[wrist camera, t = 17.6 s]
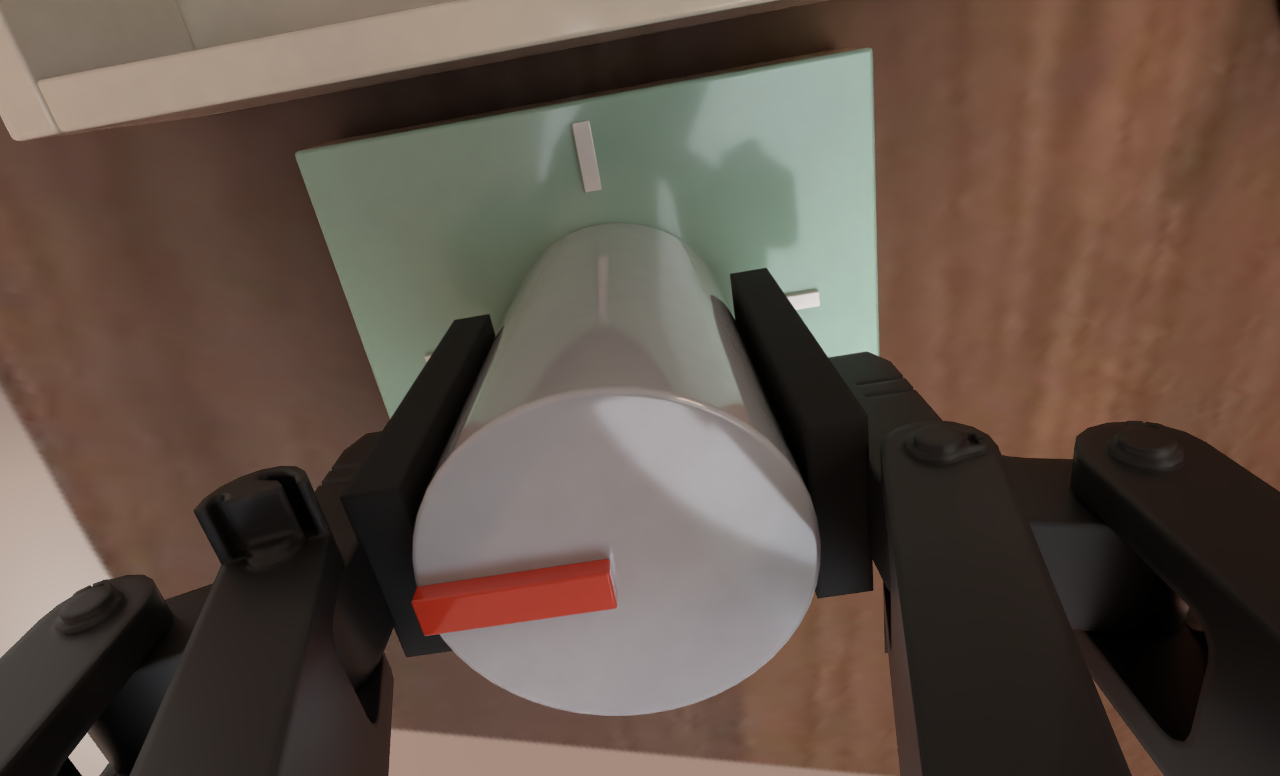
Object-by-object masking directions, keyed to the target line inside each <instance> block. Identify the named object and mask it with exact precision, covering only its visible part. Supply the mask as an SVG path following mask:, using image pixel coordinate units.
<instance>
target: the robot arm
mask: <svg viewBox="0 0 1280 776" xmlns="http://www.w3.org/2000/svg"><path fill="white" fill-rule="evenodd" d="M730 280H731V289H732V298H733V307H734V315H735V321H736V324H737V326H738V328H739V331H740V333H741V335H742V338H743V340H744V342H745V345H746V347H747V349H748V352H749V354H750V356H751V359H752V361H753V363H754V366H755V368H756V370H757V372H758V375H759V377H760V379H761V382H762V384H763V386H764V389H765V391H766V393H767V396H768V398H769V400H770V403H771V405H772V407H773V410H774V412H775V414H776V417H777V419H778V421H779V424H780V426H781V428H782V431H783V433H784V435H785V438H786V440H787V442H788V445H789V447H790V449H791V452H792V454H793V456H794V458H795V461H796V463H797V465H798V468H799V470H800V472H801V475H802V477H803V479H804V482H805V484H806V486H807V489H808V491H809V493H810V496H811V498H812V501H813V505H814V508H815V511H816V514H817V517H818V522H819V528H820V535H821V564H820V570H819V575H818V581H817V585H816V588H815V592H816V595H817V598H824V597H831V596H838V595H845V594H852V593H859V592H866V591H873V566H872V559H873V561H874V563H875V565H876V567H877V569H878V571H879V573H880V575H881V577H882V579H883V589H884V634H885V653H888V655H889V665H890V675H891V685H892V695H893V705H894V715H895V725H896V735H897V745H898V755H899V765H900V775H901V776H1132V775H1131V773H1130V770H1129V768H1128V765H1127V763H1126V760H1125V758H1124V755H1123V753H1122V751H1121V748H1120V746H1119V743H1118V741H1117V738H1116V736H1115V733H1114V731H1113V728H1112V726H1111V724H1110V721H1109V719H1108V716H1107V714H1106V711H1105V709H1104V706H1103V704H1102V701H1101V699H1100V696H1099V694H1098V692H1097V689H1096V687H1095V684H1094V682H1093V679H1094V681H1095V682H1096V683H1097V685H1098V686H1099V688H1100V689H1101V690H1102V692H1103V693H1104V694H1105V696H1106V697H1107V698H1108V700H1109V701H1110V703H1111V704H1112V705H1113V707H1114V708H1115V709H1116V711H1117V712H1118V713H1119V715H1120V716H1121V717H1122V719H1123V720H1124V722H1125V723H1126V724H1127V726H1128V727H1129V728H1130V730H1131V731H1132V732H1133V734H1134V735H1135V736H1136V738H1137V739H1138V741H1139V742H1140V743H1141V745H1142V746H1143V747H1144V749H1145V750H1146V751H1147V753H1148V754H1149V755H1150V757H1151V758H1152V760H1153V761H1154V762H1155V764H1156V765H1157V766H1158V768H1159V769H1160V770H1161V772H1162V773H1163V775H1164V776H1280V492H1279V491H1278V490H1276V489H1275V488H1273V487H1272V486H1270V485H1269V484H1267V483H1266V482H1264V481H1263V480H1261V479H1260V478H1258V477H1257V476H1255V475H1254V474H1252V473H1251V472H1249V471H1248V470H1246V469H1245V468H1243V467H1242V466H1240V465H1239V464H1238V463H1236V462H1235V461H1233V460H1232V459H1230V458H1229V457H1227V456H1226V455H1224V454H1223V453H1221V452H1220V451H1218V450H1217V449H1215V448H1214V447H1212V446H1211V445H1209V444H1208V443H1206V442H1205V441H1203V440H1201V439H1199V438H1196V437H1194V436H1192V435H1190V434H1188V433H1186V432H1184V431H1180V430H1177V429H1173V428H1169V427H1166V426H1163V425H1161V424H1157V423H1151V422H1146V423H1143V421H1127V422H1113V423H1105V424H1101V425H1097V426H1094V427H1090V428H1087V429H1086V430H1085V431H1083V432H1082V433H1081V434H1079V435H1078V436H1077V437H1076V442H1075V447H1074V456H1073V459H1041V458H1021V457H1009V456H1004V455H1001V453H1000V451H999V448H998V446H997V445H996V443H995V442H994V441H993V440H992V439H991V437H990V436H989V435H987V434H985V433H984V432H982V431H980V430H978V429H976V428H974V427H972V426H968V425H964V424H960V423H956V422H949V421H942V420H941V418H940V417H939V416H938V415H937V414H936V413H935V412H934V410H933V409H932V408H931V407H930V406H929V405H928V404H927V403H926V401H925V400H924V399H923V398H922V397H921V396H920V395H919V393H918V392H917V391H916V390H913V387H912V386H911V384H910V383H909V382H908V381H907V380H906V379H905V378H903V375H902V374H901V373H900V372H899V371H898V370H897V369H896V367H895V366H894V365H893V364H892V363H891V362H890V361H888V360H886V359H883V358H881V357H879V356H877V355H874V354H872V353H870V352H867V351H866V352H860V353H854V354H848V355H841V356H835V357H829V358H828V356H827V355H826V354H825V352H824V351H823V349H822V348H821V346H820V345H819V343H818V342H817V340H816V339H815V338H814V336H813V335H812V333H811V332H810V330H809V329H808V327H807V326H806V324H805V323H804V322H803V320H802V319H801V317H800V316H799V314H798V313H797V311H796V310H795V308H794V307H793V306H792V304H791V303H790V301H789V300H788V298H787V297H786V295H785V294H784V292H783V291H782V289H781V288H780V287H779V285H778V284H777V282H776V281H775V279H774V278H773V276H772V275H771V273H770V272H769V271H768V269H767V268H761V269H755V270H749V271H743V272H737V273H731V274H730ZM495 338H496V336H495V332H494V328H493V325H492V321H491V317H490V314H486V315H480V316H474V317H468V318H462V319H456V320H454V321H453V323H452V324H451V326H450V327H449V329H448V330H447V332H446V333H445V335H444V337H443V338H442V340H441V341H440V343H439V344H438V346H437V347H436V349H435V350H434V352H433V354H432V355H431V357H430V358H429V360H428V361H427V363H426V364H425V366H424V367H423V369H422V371H421V372H420V374H419V375H418V377H417V378H416V380H415V381H414V383H413V385H412V386H411V388H410V389H409V391H408V392H407V394H406V395H405V397H404V398H403V400H402V402H401V403H400V405H399V406H398V408H397V409H396V411H395V412H394V414H393V415H392V417H391V419H390V420H389V422H388V423H387V425H386V426H385V428H384V429H383V431H380V432H374V433H368V434H365V435H364V436H363V437H361V438H360V439H359V440H357V441H356V442H355V443H353V444H352V445H351V446H350V447H348V448H347V449H346V450H344V452H343V453H342V454H341V456H340V457H339V459H338V460H337V461H336V463H335V464H334V466H333V467H332V471H329V473H328V474H327V475H326V477H325V478H324V480H323V481H322V486H319V487H318V488H317V489H316V491H315V492H314V490H313V488H312V486H311V483H310V481H309V479H308V476H307V474H306V472H305V471H304V470H302V469H300V468H298V467H295V466H279V467H273V468H268V469H262V470H259V471H256V472H253V473H251V474H248V475H245V476H242V477H240V478H238V479H236V480H234V481H232V482H230V483H228V484H226V485H224V486H222V487H220V488H218V489H217V490H216V491H214V492H213V493H211V494H210V495H209V496H207V497H206V498H204V499H203V500H202V501H201V503H200V504H199V505H198V506H197V507H196V508H195V509H194V513H195V515H196V517H197V519H198V521H199V523H200V525H201V527H202V528H203V530H204V532H205V534H206V536H207V538H208V540H209V542H210V543H211V545H212V547H213V549H214V551H215V553H216V555H217V557H218V559H219V560H220V562H221V564H222V565H221V567H220V570H219V572H218V574H217V576H216V579H215V581H214V583H213V584H211V585H208V586H205V587H202V588H199V589H196V590H193V591H190V592H187V593H184V594H181V595H178V596H175V597H172V598H169V599H166V600H164V598H163V596H162V595H161V593H160V591H159V590H158V588H157V586H156V584H155V583H154V581H153V580H152V579H150V578H149V577H147V576H145V575H125V576H122V577H118V578H114V579H110V580H103V581H101V582H98V583H95V584H93V586H92V587H91V586H88V587H86V588H84V589H81V590H79V591H78V592H76V593H75V594H74V595H73V596H72V597H71V598H69V599H67V600H66V601H64V602H62V603H61V604H59V605H58V606H56V607H55V608H54V609H53V610H52V611H50V612H49V613H48V614H47V615H45V616H44V617H43V618H42V619H40V620H39V621H38V622H37V623H36V624H35V625H34V626H33V627H32V628H31V629H30V630H29V631H28V632H27V633H26V634H25V635H24V636H23V637H22V638H21V639H20V640H19V641H18V642H17V643H16V644H15V645H14V646H13V647H12V648H11V649H9V651H7V652H6V654H4V655H3V656H2V657H1V658H0V776H82V775H81V774H80V773H79V772H78V770H77V769H76V767H75V766H74V765H73V763H72V762H71V761H70V760H69V758H68V756H69V755H70V754H71V752H72V751H73V750H74V749H75V747H76V746H77V745H78V743H79V742H80V741H81V740H82V738H83V737H84V736H85V735H86V733H87V732H88V734H89V735H90V737H91V738H92V739H93V741H94V742H95V743H96V745H97V746H98V748H99V749H100V750H101V752H102V753H103V754H104V756H105V757H106V759H107V760H108V761H109V764H108V765H107V767H106V768H105V769H104V771H103V772H102V773H101V775H100V776H388V772H389V754H390V736H391V718H392V700H393V682H394V679H393V675H392V671H391V667H390V665H389V663H388V660H387V658H386V656H385V653H384V650H385V647H386V645H387V642H388V640H389V637H390V635H391V632H392V630H393V627H394V629H395V631H396V634H397V636H398V639H399V641H400V643H401V646H402V648H403V651H404V653H405V655H406V657H412V656H419V655H426V654H433V653H440V652H447V651H453V650H452V649H451V648H450V647H449V646H448V644H447V643H446V642H445V641H444V640H443V639H442V637H441V636H440V634H437V635H430V636H425V635H424V634H423V632H422V629H421V627H420V624H419V622H418V619H417V617H416V614H415V612H414V609H413V607H412V604H411V601H412V598H413V596H414V593H415V591H416V588H417V585H416V582H415V577H414V569H413V561H412V538H413V531H414V526H415V521H416V516H417V512H418V509H419V507H420V504H421V501H422V499H423V496H424V494H425V491H426V489H427V487H428V484H429V482H430V480H431V478H432V476H433V473H434V471H435V469H436V467H437V465H438V463H439V460H440V458H441V456H442V454H443V452H444V449H445V447H446V445H447V443H448V441H449V438H450V436H451V434H452V432H453V430H454V428H455V425H456V423H457V421H458V419H459V417H460V414H461V412H462V410H463V408H464V406H465V403H466V401H467V399H468V397H469V395H470V393H471V390H472V388H473V386H474V384H475V382H476V379H477V377H478V375H479V373H480V371H481V368H482V366H483V364H484V362H485V360H486V357H487V355H488V353H489V351H490V349H491V347H492V344H493V342H494V340H495ZM1092 678H1093V679H1092Z"/></svg>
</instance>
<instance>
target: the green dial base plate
mask: <svg viewBox="0 0 1280 776" xmlns="http://www.w3.org/2000/svg"><path fill="white" fill-rule="evenodd" d="M295 157H296V160H297V163H298V166H299V168H300V171H301V174H302V177H303V180H304V182H305V185H306V188H307V191H308V193H309V196H310V199H311V202H312V205H313V207H314V210H315V213H316V216H317V218H318V221H319V224H320V227H321V229H322V232H323V235H324V238H325V241H326V243H327V246H328V249H329V252H330V254H331V257H332V260H333V263H334V265H335V268H336V271H337V274H338V277H339V279H340V282H341V285H342V288H343V290H344V293H345V296H346V299H347V302H348V304H349V307H350V310H351V313H352V315H353V318H354V321H355V324H356V326H357V329H358V332H359V335H360V338H361V340H362V343H363V346H364V349H365V351H366V354H367V357H368V360H369V363H370V365H371V368H372V371H373V374H374V376H375V379H376V382H377V385H378V387H379V390H380V393H381V396H382V399H383V401H384V404H385V407H386V410H387V412H388V415H389V418H390V419H391V417H392V415H393V414H394V412H395V411H396V409H397V408H398V406H399V405H400V403H401V402H402V400H403V398H404V397H405V395H406V394H407V392H408V391H409V389H410V388H411V386H412V385H413V383H414V381H415V380H416V378H417V377H418V375H419V374H420V372H421V371H422V369H423V367H424V366H425V364H426V363H427V361H428V360H429V358H430V357H431V355H432V354H433V352H434V350H435V349H436V347H437V346H438V344H439V343H440V341H441V340H442V338H443V337H444V335H445V333H446V332H447V330H448V329H449V327H450V326H451V324H452V323H453V321H454V320H456V319H462V318H468V317H474V316H480V315H486V314H490V317H491V321H492V325H493V328H494V332H495V336H497V333H498V331H499V329H500V327H501V325H502V322H503V320H504V318H505V316H506V314H507V312H508V309H509V307H510V305H511V303H512V301H513V298H514V296H515V294H516V292H517V290H518V287H519V285H520V283H521V281H522V279H523V278H524V276H525V274H526V272H527V271H528V269H529V268H530V267H531V265H532V264H533V263H534V261H535V260H536V259H537V258H538V257H539V256H540V255H541V254H542V253H543V252H544V251H545V250H546V249H547V248H549V247H550V246H551V245H553V244H554V243H555V242H557V241H558V240H560V239H562V238H563V237H565V236H567V235H569V234H571V233H573V232H575V231H578V230H581V229H583V228H586V227H590V226H594V225H599V224H606V223H633V224H640V225H646V226H649V227H652V228H656V229H659V230H661V231H664V232H666V233H668V234H670V235H672V236H674V237H676V238H677V239H679V240H681V241H682V242H684V243H686V244H687V245H688V246H689V247H690V248H692V249H693V250H694V251H695V252H696V253H697V254H698V255H699V256H700V257H701V258H702V259H703V260H704V261H705V262H706V263H707V265H708V266H709V268H710V269H711V270H712V272H713V273H714V275H715V277H716V279H717V281H718V283H719V285H720V287H721V289H722V291H723V293H724V296H725V298H726V300H727V303H728V305H729V307H730V310H731V312H732V314H733V317H734V319H735V315H734V307H733V298H732V289H731V280H730V274H731V273H737V272H743V271H749V270H755V269H761V268H767V269H768V271H769V272H770V273H771V275H772V276H773V278H774V279H775V281H776V282H777V284H778V285H779V287H780V288H781V289H782V291H783V292H784V294H785V295H786V297H787V298H788V300H789V301H790V303H791V304H792V306H793V307H794V308H795V310H796V311H797V313H798V314H799V316H800V317H801V319H802V320H803V322H804V323H805V324H806V326H807V327H808V329H809V330H810V332H811V333H812V335H813V336H814V338H815V339H816V340H817V342H818V343H819V345H820V346H821V348H822V349H823V351H824V352H825V354H826V355H827V356H828V358H829V357H835V356H841V355H848V354H854V353H860V352H866V351H867V352H870V353H872V354H874V355H877V356H879V357H880V355H879V309H878V263H877V217H876V171H875V124H874V78H873V51H872V48H869V47H862V48H842V49H832V50H827V51H821V52H816V53H810V54H805V55H799V56H794V57H788V58H783V59H777V60H772V61H766V62H761V63H755V64H750V65H744V66H739V67H733V68H728V69H722V70H717V71H711V72H706V73H700V74H695V75H689V76H684V77H678V78H673V79H667V80H662V81H656V82H651V83H645V84H640V85H634V86H629V87H623V88H618V89H612V90H607V91H601V92H596V93H590V94H585V95H579V96H574V97H568V98H563V99H557V100H552V101H547V102H541V103H536V104H530V105H525V106H519V107H514V108H508V109H503V110H497V111H492V112H486V113H481V114H475V115H470V116H464V117H459V118H453V119H448V120H442V121H437V122H431V123H426V124H420V125H415V126H409V127H404V128H398V129H393V130H387V131H382V132H376V133H371V134H365V135H360V136H354V137H349V138H343V139H338V140H335V141H331V142H328V143H324V144H320V145H317V146H313V147H310V148H306V149H303V150H299V151H297V152H296V153H295Z"/></svg>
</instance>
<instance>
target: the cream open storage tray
mask: <svg viewBox="0 0 1280 776" xmlns="http://www.w3.org/2000/svg"><path fill="white" fill-rule="evenodd" d="M824 1H829V0H0V116H1V118H2V120H3V122H4V124H5V126H6V128H7V130H8V132H9V134H10V135H11V137H12V138H13V139H14V140H17V141H27V140H35V139H42V138H49V137H57V136H64V135H71V134H79V133H86V132H93V131H101V130H108V129H115V128H122V127H130V126H137V125H144V124H152V123H159V122H166V121H174V120H181V119H188V118H196V117H203V116H210V115H215V114H221V113H226V112H231V111H237V110H242V109H248V108H253V107H258V106H264V105H269V104H274V103H280V102H285V101H291V100H296V99H301V98H307V97H312V96H318V95H323V94H328V93H334V92H339V91H344V90H350V89H355V88H361V87H366V86H371V85H377V84H382V83H388V82H393V81H398V80H404V79H409V78H415V77H420V76H425V75H431V74H436V73H441V72H447V71H452V70H458V69H463V68H468V67H474V66H479V65H485V64H490V63H495V62H501V61H506V60H512V59H517V58H522V57H528V56H533V55H538V54H544V53H549V52H555V51H560V50H565V49H571V48H576V47H582V46H587V45H592V44H598V43H603V42H609V41H614V40H619V39H625V38H630V37H635V36H641V35H646V34H652V33H657V32H662V31H668V30H673V29H679V28H684V27H689V26H695V25H700V24H706V23H711V22H716V21H722V20H727V19H732V18H738V17H743V16H749V15H754V14H759V13H765V12H770V11H776V10H781V9H786V8H792V7H797V6H802V5H808V4H813V3H819V2H824Z"/></svg>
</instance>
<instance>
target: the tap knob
mask: <svg viewBox="0 0 1280 776" xmlns="http://www.w3.org/2000/svg"><path fill="white" fill-rule="evenodd" d="M412 561H413V569H414V577H415V582H416V585H417V588H416V591H415V593H414V596H413V598H412V601H411V604H412V607H413V609H414V612H415V614H416V617H417V619H418V622H419V624H420V627H421V629H422V632H423V634H424V635H425V636H430V635H437V634H440V636H441V637H442V639H443V640H444V641H445V642H446V643H447V644H448V646H449V647H450V648H451V649H452V650H453V651H454V652H455V653H456V655H457V656H458V657H460V658H461V659H462V660H463V661H464V662H465V663H466V664H468V665H469V666H470V667H471V668H472V669H473V670H475V671H476V672H477V673H479V674H480V675H482V676H483V677H485V678H486V679H488V680H489V681H490V682H492V683H494V684H496V685H497V686H499V687H501V688H503V689H505V690H507V691H509V692H510V693H512V694H515V695H517V696H520V697H522V698H524V699H527V700H529V701H532V702H534V703H538V704H541V705H545V706H548V707H551V708H555V709H559V710H564V711H569V712H574V713H580V714H590V715H600V716H630V715H641V714H651V713H657V712H662V711H668V710H673V709H677V708H680V707H684V706H687V705H691V704H694V703H697V702H700V701H702V700H705V699H707V698H710V697H712V696H715V695H717V694H719V693H721V692H723V691H725V690H727V689H729V688H731V687H733V686H735V685H737V684H738V683H740V682H741V681H743V680H744V679H746V678H747V677H749V676H750V675H752V674H753V673H755V672H756V671H757V670H759V669H760V668H761V667H762V666H763V665H764V664H766V663H767V662H768V661H769V660H770V659H772V658H773V657H774V656H775V655H776V653H777V652H778V651H779V650H780V649H781V648H782V647H783V646H784V645H785V644H786V643H787V642H788V640H789V639H790V637H791V636H792V635H793V633H794V632H795V630H796V629H797V628H798V626H799V625H800V623H801V621H802V619H803V617H804V615H805V613H806V611H807V610H808V608H809V606H810V603H811V600H812V597H813V594H814V591H815V588H816V585H817V581H818V575H819V570H820V564H821V535H820V528H819V522H818V517H817V514H816V511H815V508H814V505H813V501H812V498H811V496H810V493H809V491H808V489H807V486H806V484H805V482H804V479H803V477H802V475H801V472H800V470H799V468H798V465H797V463H796V461H795V458H794V456H793V454H792V452H791V449H790V447H789V445H788V442H787V440H786V438H785V435H784V433H783V431H782V428H781V426H780V424H779V421H778V419H777V417H776V414H775V412H774V410H773V407H772V405H771V403H770V400H769V398H768V396H767V393H766V391H765V389H764V386H763V384H762V382H761V379H760V377H759V375H758V372H757V370H756V368H755V366H754V363H753V361H752V359H751V356H750V354H749V352H748V349H747V347H746V345H745V342H744V340H743V338H742V335H741V333H740V331H739V328H738V326H737V324H736V321H735V319H734V317H733V314H732V312H731V310H730V307H729V305H728V303H727V300H726V298H725V296H724V293H723V291H722V289H721V287H720V285H719V283H718V281H717V279H716V277H715V275H714V273H713V272H712V270H711V269H710V268H709V266H708V265H707V263H706V262H705V261H704V260H703V259H702V258H701V257H700V256H699V255H698V254H697V253H696V252H695V251H694V250H693V249H692V248H690V247H689V246H688V245H687V244H686V243H684V242H682V241H681V240H679V239H677V238H676V237H674V236H672V235H670V234H668V233H666V232H664V231H661V230H659V229H656V228H652V227H649V226H646V225H640V224H633V223H606V224H599V225H594V226H590V227H586V228H583V229H581V230H578V231H575V232H573V233H571V234H569V235H567V236H565V237H563V238H562V239H560V240H558V241H557V242H555V243H554V244H553V245H551V246H550V247H549V248H547V249H546V250H545V251H544V252H543V253H542V254H541V255H540V256H539V257H538V258H537V259H536V260H535V261H534V263H533V264H532V265H531V267H530V268H529V269H528V271H527V272H526V274H525V276H524V278H523V279H522V281H521V283H520V285H519V287H518V290H517V292H516V294H515V296H514V298H513V301H512V303H511V305H510V307H509V309H508V312H507V314H506V316H505V318H504V320H503V322H502V325H501V327H500V329H499V331H498V333H497V336H496V338H495V340H494V342H493V344H492V347H491V349H490V351H489V353H488V355H487V357H486V360H485V362H484V364H483V366H482V368H481V371H480V373H479V375H478V377H477V379H476V382H475V384H474V386H473V388H472V390H471V393H470V395H469V397H468V399H467V401H466V403H465V406H464V408H463V410H462V412H461V414H460V417H459V419H458V421H457V423H456V425H455V428H454V430H453V432H452V434H451V436H450V438H449V441H448V443H447V445H446V447H445V449H444V452H443V454H442V456H441V458H440V460H439V463H438V465H437V467H436V469H435V471H434V473H433V476H432V478H431V480H430V482H429V484H428V487H427V489H426V491H425V494H424V496H423V499H422V501H421V504H420V507H419V509H418V512H417V516H416V521H415V526H414V531H413V538H412Z"/></svg>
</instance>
